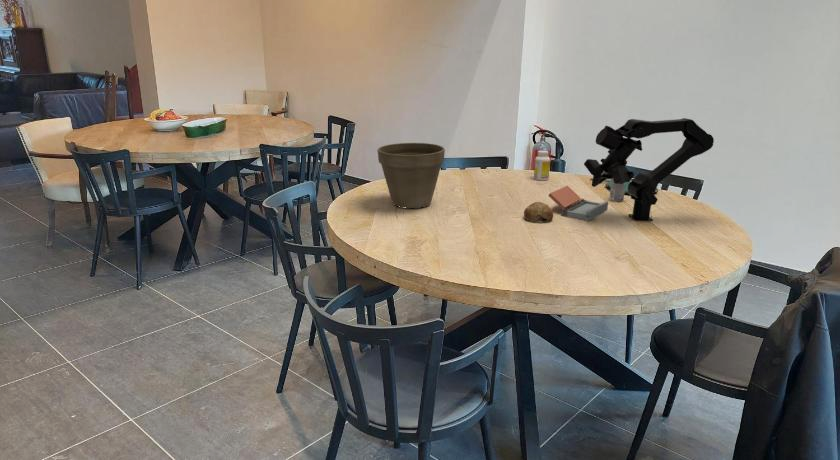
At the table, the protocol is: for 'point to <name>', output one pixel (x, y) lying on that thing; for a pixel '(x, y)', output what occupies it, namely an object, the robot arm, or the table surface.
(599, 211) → the tray
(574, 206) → the sill
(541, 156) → the supplement bottle
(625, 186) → the cutlery set
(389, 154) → the plant pot
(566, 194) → the panel
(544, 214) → the bread roll
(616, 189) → the energy drink
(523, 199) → the table surface
